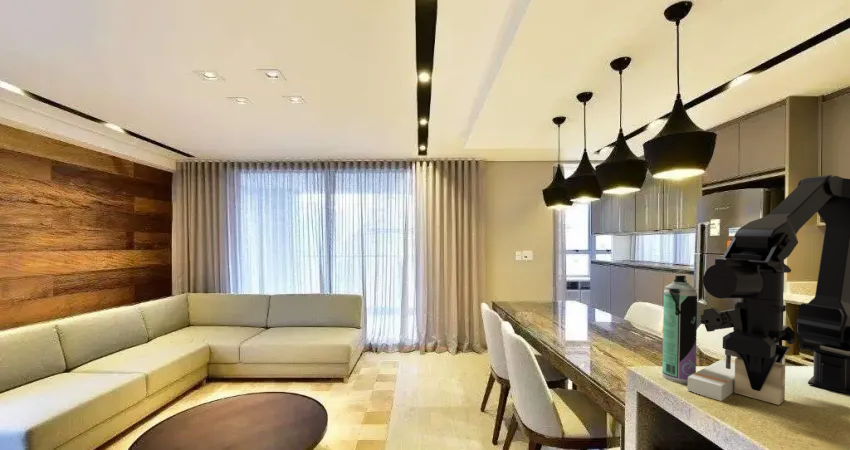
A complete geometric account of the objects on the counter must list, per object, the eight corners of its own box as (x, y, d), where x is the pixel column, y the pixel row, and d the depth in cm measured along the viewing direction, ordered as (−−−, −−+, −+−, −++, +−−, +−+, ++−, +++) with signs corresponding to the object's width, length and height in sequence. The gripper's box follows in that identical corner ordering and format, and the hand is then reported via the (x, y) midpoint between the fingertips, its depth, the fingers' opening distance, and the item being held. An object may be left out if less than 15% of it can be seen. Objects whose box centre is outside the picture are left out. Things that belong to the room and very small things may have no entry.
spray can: (697, 385, 73) (699, 277, 74) (662, 379, 76) (664, 275, 76) (694, 377, 78) (696, 275, 78) (661, 371, 81) (664, 273, 81)
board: (720, 371, 82) (720, 358, 82) (751, 379, 78) (751, 365, 78) (687, 391, 71) (687, 376, 71) (721, 401, 67) (721, 385, 67)
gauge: (728, 384, 74) (729, 348, 74) (784, 399, 68) (785, 359, 68) (721, 389, 72) (722, 351, 72) (779, 405, 65) (779, 363, 66)
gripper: (723, 288, 81) (721, 364, 81) (688, 294, 70) (686, 383, 70) (796, 296, 73) (794, 382, 72) (770, 305, 61) (768, 406, 61)
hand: (759, 387), depth 69 cm, fingers closed on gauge, 4 cm apart
